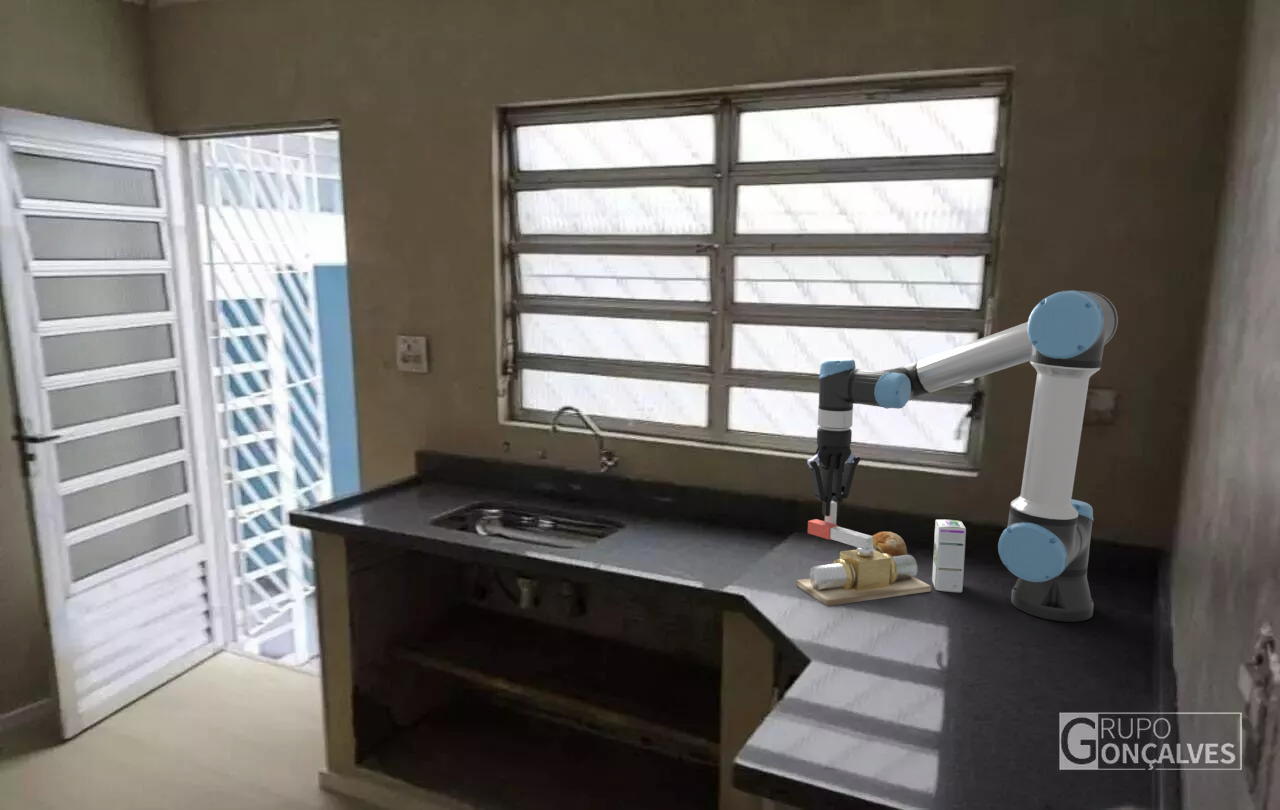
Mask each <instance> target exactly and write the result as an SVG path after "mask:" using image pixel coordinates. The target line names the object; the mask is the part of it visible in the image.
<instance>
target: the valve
mask: <svg viewBox="0 0 1280 810" xmlns="http://www.w3.org/2000/svg"><path fill="white" fill-rule="evenodd" d="M917 573H918V563H917V560H916V559H915V557H914V556H913V555H911V554H907V555H902V556H894V557H892V556H891V555H889V554H887V553H883V554H882V553H880V552H878V551H876V550H874V555H873V556H870V557H865V556H860V555H858V554H857V549H851V550H841V551H839V558H835V559H834V560H833V561H832V563H829V564H820V565H814V566H812V567H811V568H810V570H809V578H810V581H811V584H812V586H813V588H814V589H816V590H823V589H830V588H838V587H841V588H843V589H845V590H850V589H851V588H853V589H855V590H856V591H861V590H868V589H875V588H883V587H889V584H894V583H895V581H896V580H898V579H905V578H913V577H915V578H916V576H917Z"/></svg>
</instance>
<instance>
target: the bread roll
mask: <svg viewBox="0 0 1280 810" xmlns="http://www.w3.org/2000/svg"><path fill="white" fill-rule="evenodd" d="M872 536H873V547H874V550H876V551H878V552H880V553H882V554H883V553H887V554H889V555H891V556H892V557H894V556H902V555H908V550H907V545H906V543H905V541H904V539H903V538H902V536H900V535H898V534H897V533H894V532H892V531H879V532H877V533H875V534H873V535H872Z"/></svg>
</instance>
